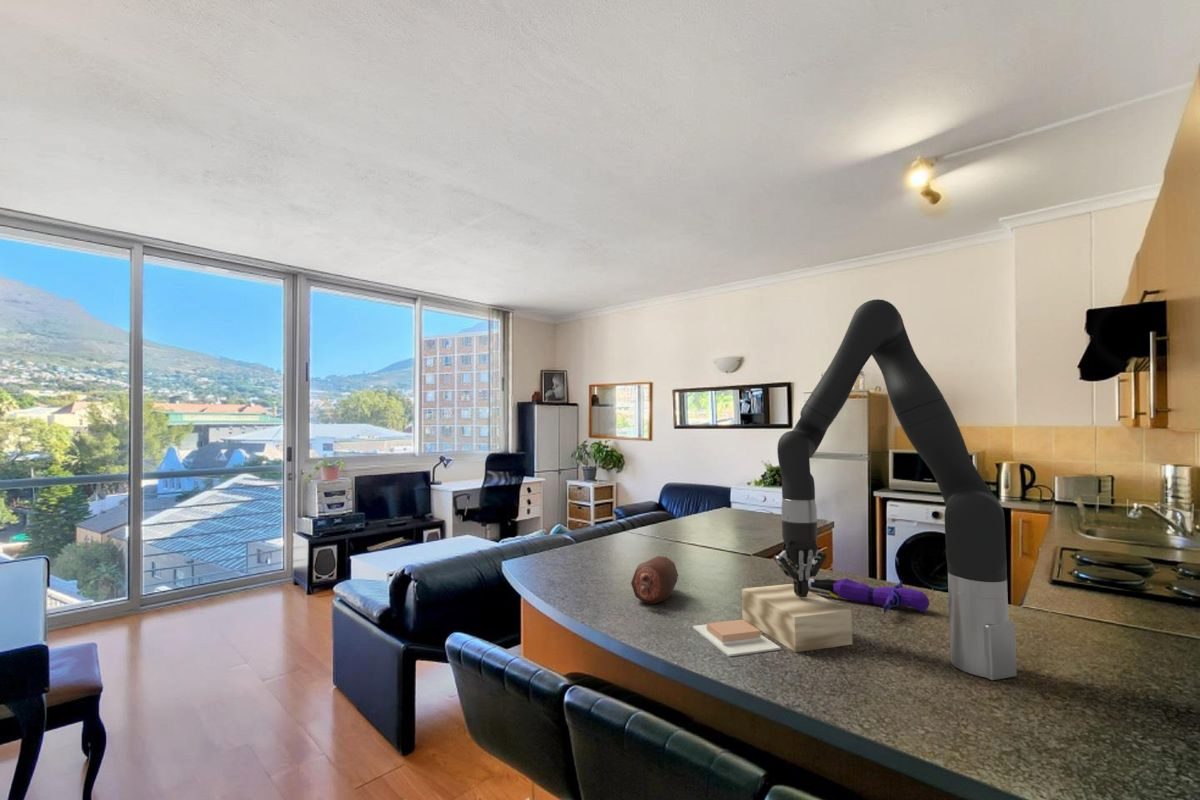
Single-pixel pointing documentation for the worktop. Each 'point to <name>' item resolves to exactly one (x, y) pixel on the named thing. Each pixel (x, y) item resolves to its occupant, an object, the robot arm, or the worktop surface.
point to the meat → (654, 580)
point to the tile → (733, 632)
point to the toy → (873, 593)
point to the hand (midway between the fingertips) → (801, 596)
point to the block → (797, 617)
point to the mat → (739, 644)
